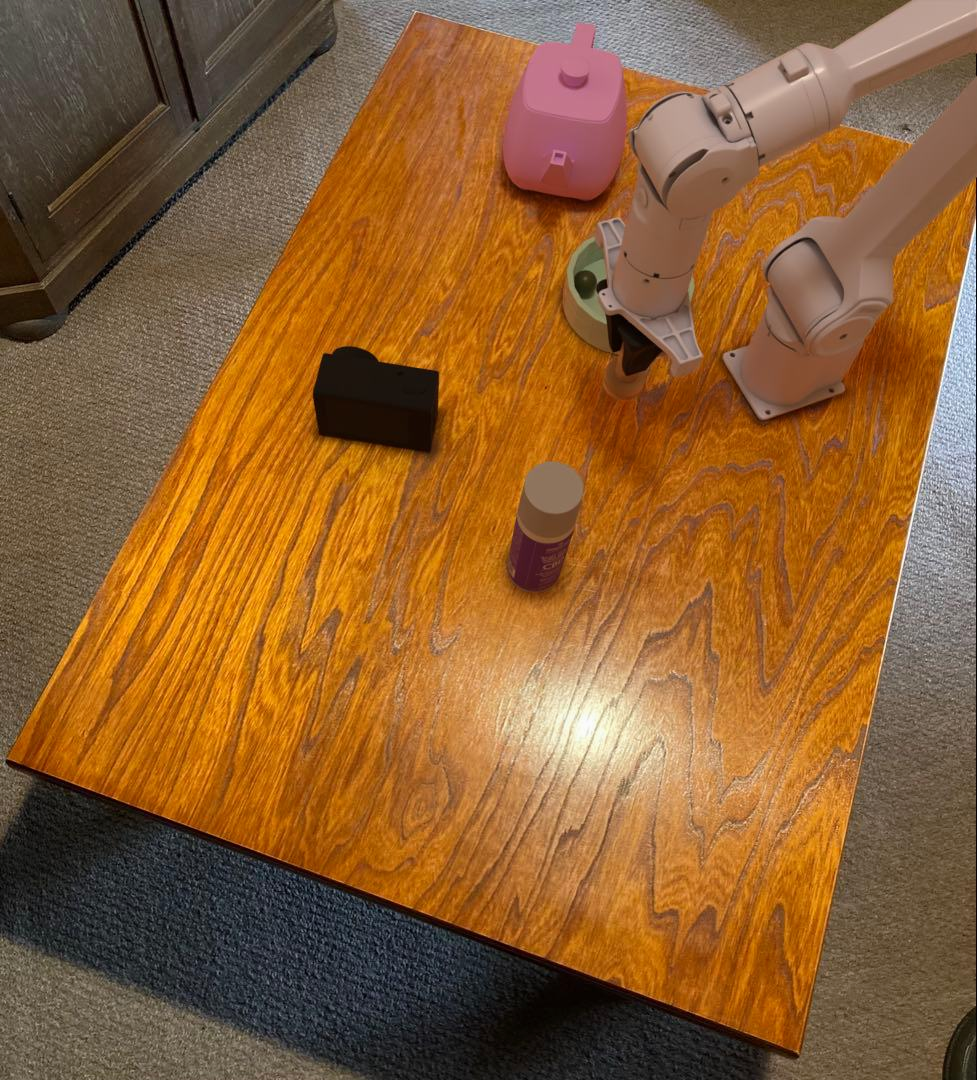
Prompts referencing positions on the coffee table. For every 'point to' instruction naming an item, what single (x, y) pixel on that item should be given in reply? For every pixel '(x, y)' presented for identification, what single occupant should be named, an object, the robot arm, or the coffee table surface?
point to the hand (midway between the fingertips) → (628, 358)
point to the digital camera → (375, 400)
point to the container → (544, 526)
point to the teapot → (567, 119)
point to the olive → (585, 282)
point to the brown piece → (622, 380)
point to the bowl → (590, 296)
